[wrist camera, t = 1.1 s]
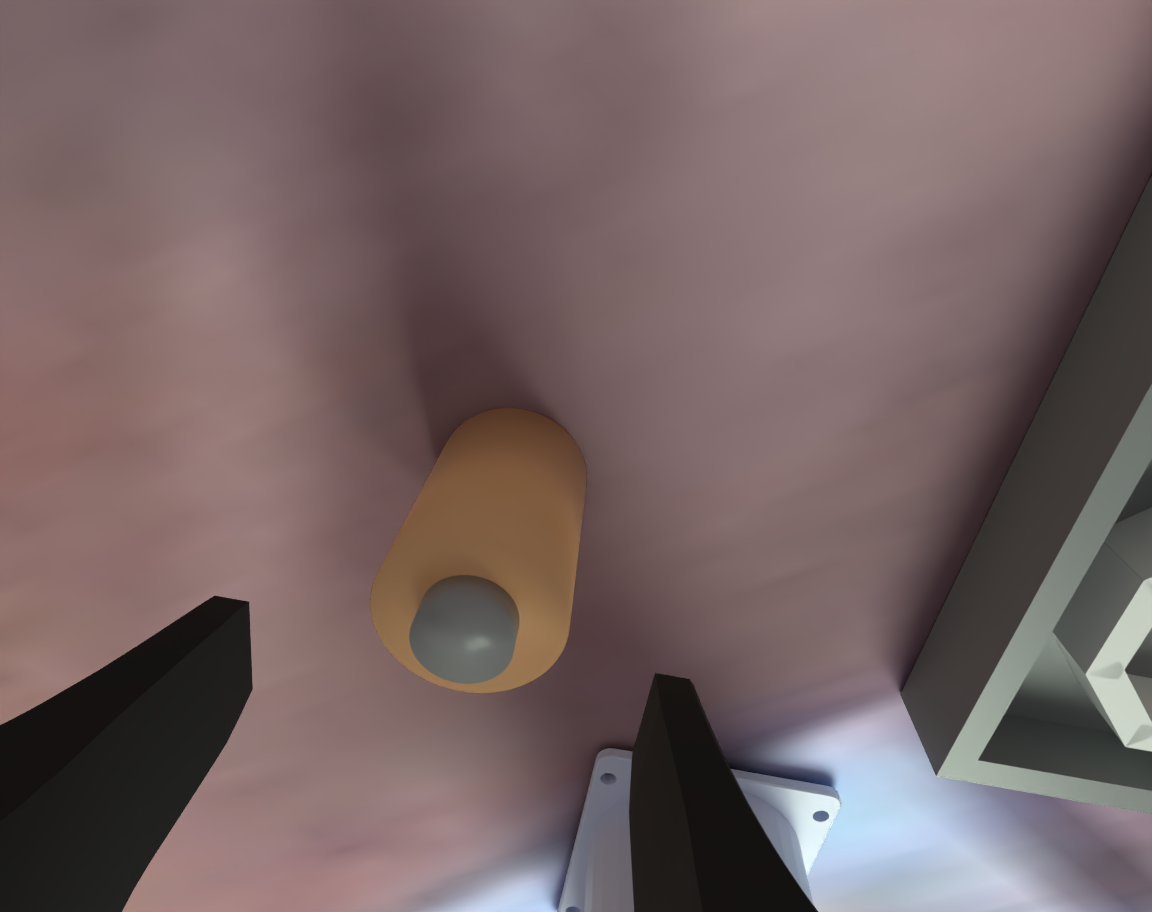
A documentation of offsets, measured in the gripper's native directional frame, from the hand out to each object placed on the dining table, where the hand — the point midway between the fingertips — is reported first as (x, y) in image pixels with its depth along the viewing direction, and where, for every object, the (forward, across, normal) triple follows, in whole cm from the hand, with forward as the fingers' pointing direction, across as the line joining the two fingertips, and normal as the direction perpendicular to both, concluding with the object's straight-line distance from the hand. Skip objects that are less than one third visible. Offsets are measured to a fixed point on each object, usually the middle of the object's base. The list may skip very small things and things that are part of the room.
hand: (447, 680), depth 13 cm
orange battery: (+8, 0, 0) cm, 8 cm away
